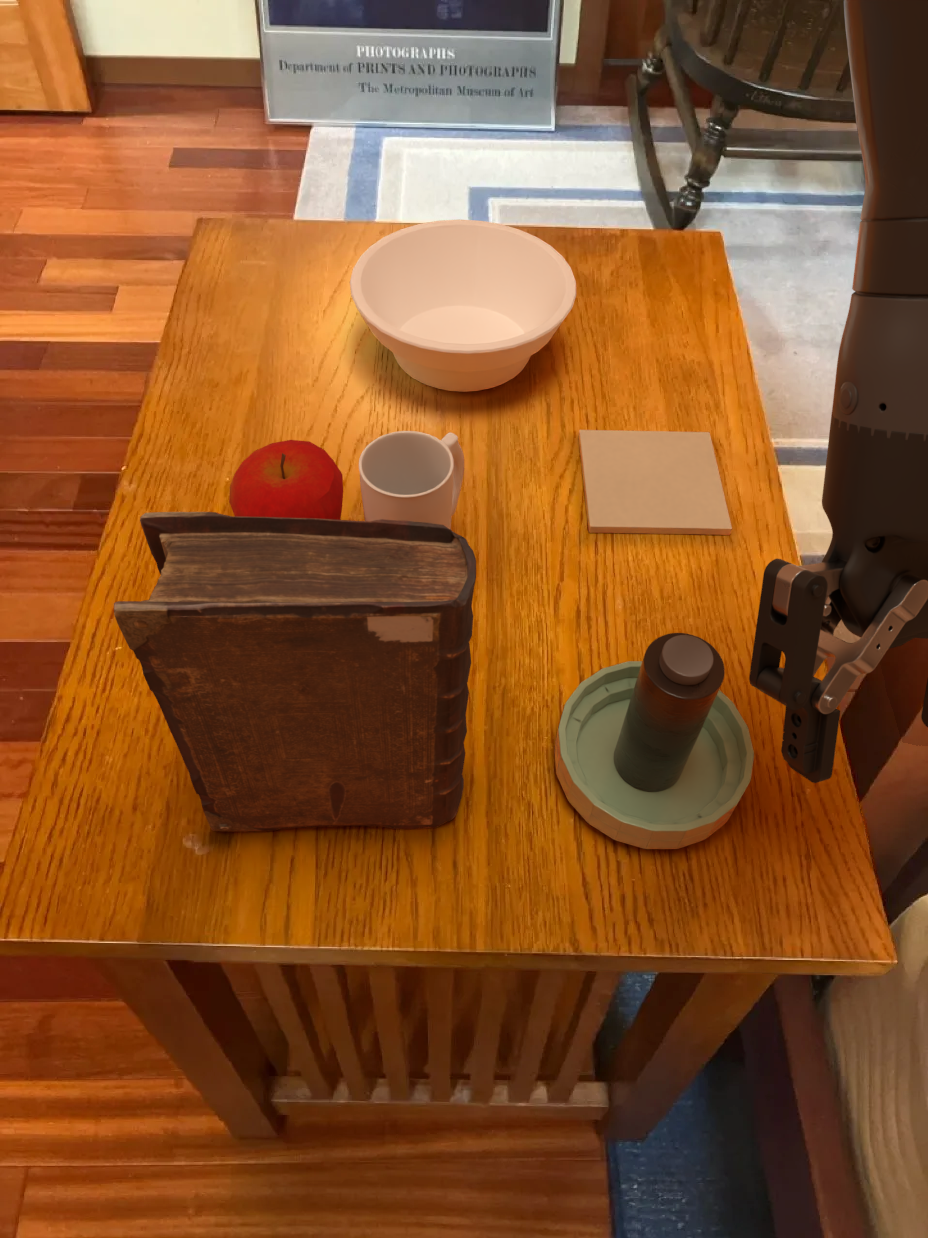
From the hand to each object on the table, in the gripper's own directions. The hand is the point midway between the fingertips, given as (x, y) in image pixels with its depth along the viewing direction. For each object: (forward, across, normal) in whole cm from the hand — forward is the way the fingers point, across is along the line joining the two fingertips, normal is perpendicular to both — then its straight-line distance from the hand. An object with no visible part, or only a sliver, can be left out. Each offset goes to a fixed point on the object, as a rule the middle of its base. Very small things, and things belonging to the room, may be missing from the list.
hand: (878, 751), depth 44 cm
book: (+12, -20, +25) cm, 35 cm away
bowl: (-12, +5, +60) cm, 62 cm away
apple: (+1, -17, +44) cm, 47 cm away
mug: (+1, -8, +40) cm, 41 cm away
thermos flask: (+11, 0, +19) cm, 22 cm away
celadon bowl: (+12, 0, +19) cm, 23 cm away
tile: (-2, +14, +40) cm, 42 cm away
